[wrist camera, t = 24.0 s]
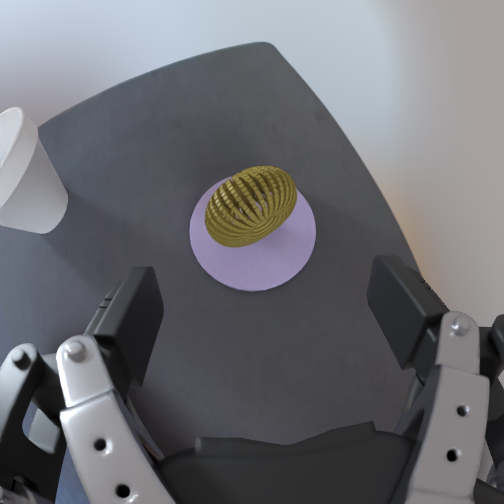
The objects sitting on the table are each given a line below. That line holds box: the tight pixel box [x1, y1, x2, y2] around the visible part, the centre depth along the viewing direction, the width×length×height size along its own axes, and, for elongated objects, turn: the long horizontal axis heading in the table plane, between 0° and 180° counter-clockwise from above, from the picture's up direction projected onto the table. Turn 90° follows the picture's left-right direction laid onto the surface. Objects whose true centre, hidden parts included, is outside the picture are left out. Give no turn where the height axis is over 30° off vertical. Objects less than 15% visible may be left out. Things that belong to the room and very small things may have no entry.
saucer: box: [190, 175, 316, 292], centre depth 27 cm, size 12×12×1 cm
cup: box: [0, 107, 68, 234], centre depth 22 cm, size 12×12×14 cm
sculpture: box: [205, 165, 297, 248], centre depth 22 cm, size 8×4×8 cm, turn 122°
